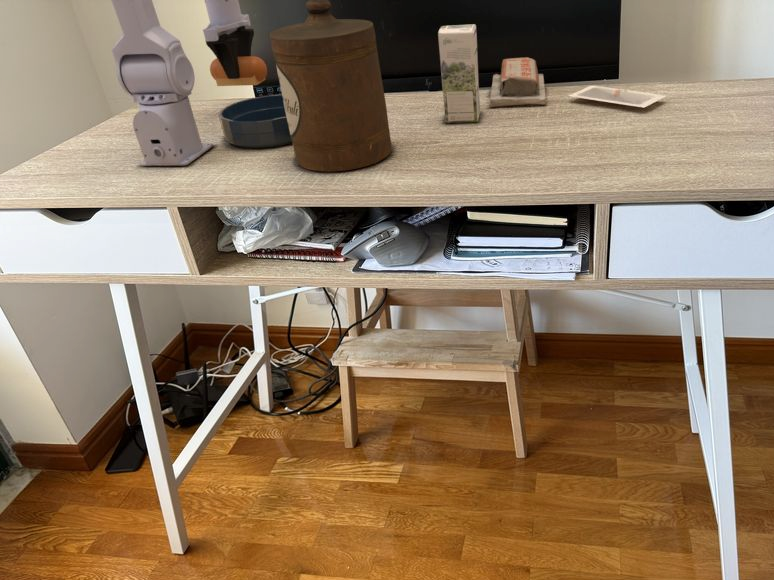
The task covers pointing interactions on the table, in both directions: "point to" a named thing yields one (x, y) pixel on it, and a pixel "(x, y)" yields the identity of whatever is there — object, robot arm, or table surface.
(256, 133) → the bowl
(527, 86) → the packaged product
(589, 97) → the touchpad
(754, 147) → the table surface
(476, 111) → the syrup box
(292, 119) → the wooden container
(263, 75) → the bun
